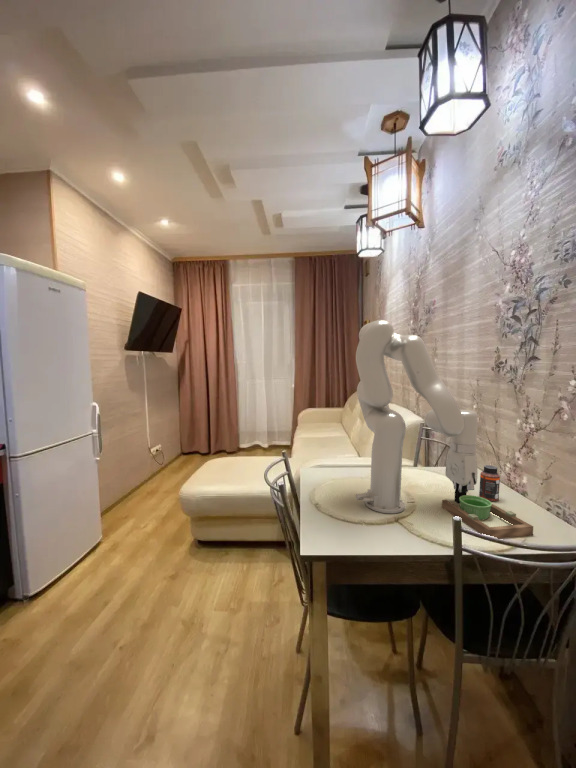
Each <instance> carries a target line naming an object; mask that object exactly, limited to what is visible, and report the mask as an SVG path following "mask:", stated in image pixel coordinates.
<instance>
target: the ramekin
mask: <svg viewBox="0 0 576 768" xmlns="http://www.w3.org/2000/svg"><path fill="white" fill-rule="evenodd" d="M459 501H460V504H459V508H460V509H462V510H464V511H465V512H467V513H468V514H475V515H476V516H478V517H479V521H482V520H483V519H484V520H487V519H488V517H490V516H491V514H490V509H491V506H492V504H493V503H492V501H489V500H487V499H485V498H482V497H480V496H478V495H473V494H471V495H470V494H466V495H463V496H460V497H459Z"/></svg>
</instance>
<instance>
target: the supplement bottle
mask: <svg viewBox="0 0 576 768" xmlns="http://www.w3.org/2000/svg"><path fill="white" fill-rule="evenodd" d="M500 482H501V475H500V474H499V473H498V467H497V466H495V465H491V464H490V465H488V464H487V465H483V471H481V472H480V474H479V491H478V495H479V496H478V497H482V498H485V499H487V500H489V501H490V502H497V501H499V499H500V498H499V497H500V484H501V483H500Z"/></svg>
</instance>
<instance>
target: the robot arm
mask: <svg viewBox="0 0 576 768" xmlns="http://www.w3.org/2000/svg"><path fill="white" fill-rule="evenodd" d="M358 338H359V341H358V344H357V347H356V352H355V364H356V368H357V371H358V372H357V373H358V376H359V380H360V381H359V382H358V384H357V387H356V395H357V396H356V397H357V401H358V403H359V407H360V410H361V413H362V415H363V419H364V422H365V424H366V426H367V428H368V429H369V430H370V431H371V432H372V433H373V434H374V435H373V440H372V445H371V461H370V462H371V467H370V468H371V469H370V486H369V487H370V488H369V489H367V491H366V492H365V493H356V494H355V500H356V501H362V502H363V503H364V504H365V506H366V507H367V508H369V509H370V510H372V511H373V512H374V511H375V512H377V513H383V514H398V513H402V512H404V511H405V509H406V504H405V501H403V500H401V492H402V490H401V489H402V487H401V486H402V468H403V451H404V450H403V447H404V441H405V436H406V431H407V430H406V429H407V427H406V422H405V420H404V417H403V416H402V415H401V414H400V413H399V412H398V411H396V410H394V409H391V408H390V406H389V404H391V402H392V400H393V398H394V391H393V388H392V385H391V381H390V379H389V378H390V377H389V375H388V372H387V369H386V364H385V357H388V358H390V359H392V360H394V361H398V362H399V361H400V362H401V364H402V366H403V368H404V371H405V373H406V375H407V378H408V380H409V383H410V385H411V386H412V388H413V389H414V390H415V392H417V393H418V394H419V395H420V396H421V397H422V398H423V399H424V400H425V401H426V402H427V403H428V405H430V408H432V409H430V410H428V412H426V414H425V417H424V422H425V424H426V426H427V427H428V428H429V429H431V430H432V431H434V432H437V433H440V434H441V435H443V436H446V437H450V448H449V449H448V452H447V457H446V463H445V477H446V478H447V479H448V480H450V482H452V485H453V490H454V497H453V498H454V500H453V501H454V502H455V503H456V504H458V505H460V501H459V497H460V496H463V495H468V494H467V492H468V493H469V491H475V486H476V485H477V482H478V459H477V438H478V420H479V415H478V413H477V412H476V411H474V410H470V409H460V407H459V405H458V402H457V400H456V398H455V397H454V395H453V394H452V392H451V391H450V390H449V388H448V387H447V386H446V384H445V382H443V381H442V379H441V378H440V377H439V374H438V372H437V370H436V368H435V365H434V363H433V360H432V357H431V355H430V353H429V350H428V348H427V346H426V344H425V342H424V340H423V338H421V337H420V336H419V335H416V334H405V335H402V334H399V333H396V332H395V331H394V327H393V325H392V324H391V322H389V321H388V320H386V319H385V320H384V319H377V320H374V321H370V322H368V323H366V324H364V325H363V326H362V327H361V329H360V330H359V333H358Z"/></svg>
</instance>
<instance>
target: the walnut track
mask: <svg viewBox="0 0 576 768" xmlns="http://www.w3.org/2000/svg"><path fill="white" fill-rule="evenodd" d="M441 508H442V509H444V510H445V511H447V512H448V513H449V514H451V515H452V516H454V517H455V516H459V517H461V518H462V521H461V522H463V523H464V524H466V525H467V526H468V527H470V528H471V529H473V530H475V531H476V532H477V533H478V534H480V533H483V534H486V535H490V536H494V537H497V539H505V538H517V537H518V538H519V537H527V536H528V537H529V536H533V535H534V526H533V525H532V524H530V523H527V521H524V520H523V519H521V518H519V517H517V513H515V512H513V511H512V510H507V511H505V510H504V509H502V508H501V507H499V506H496V505H495V504H493V503H492V506H491V509H490V512H492V513H493V514H495V515H497V516H499V517H500V518H503V519H504V520H506V521H508V522H509V523H511V524H513V525H501V526H489V525H487V524H485V523H484V522H483V521H482V520H479V517H478V516H476V515H475V514H468V513H467V512H465V511H464V510H462V509H460V506H458V505H455V504H454V503H453V502H451V501H449V500H448V499H441Z"/></svg>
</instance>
